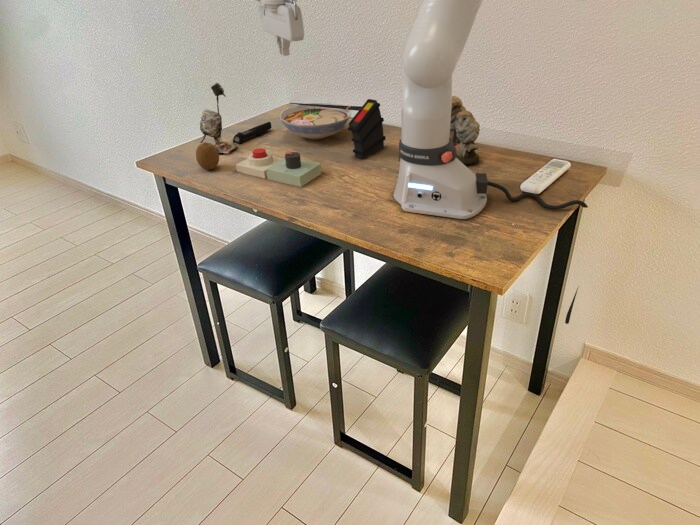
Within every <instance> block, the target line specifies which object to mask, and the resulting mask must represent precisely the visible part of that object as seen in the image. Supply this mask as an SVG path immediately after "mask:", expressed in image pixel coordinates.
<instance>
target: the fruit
mask: <svg viewBox="0 0 700 525" xmlns="http://www.w3.org/2000/svg"><path fill="white" fill-rule="evenodd" d="M214 145H215V144H213V143H211V142H207V141H203V142H202V143H199V145H197V147H196V150H195V158H196V161H197V164H198V165H199V166H200V167H201V168H202V169H203V170H207V171H212V170H214V169H215V168H216V167H217V166H218V165H219V162H220V153H218V150H217V148H216V147H215V146H214Z"/></svg>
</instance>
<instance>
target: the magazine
mask: <svg viewBox="0 0 700 525" xmlns="http://www.w3.org/2000/svg"><path fill="white" fill-rule="evenodd" d="M361 106H362V107H361V109H360V110H359V111H357V112H356V113H355V115H354V116H353V117H352V119H351V120H350V121H349V122H348V127H347V130H348V131H350V132H351V135H352V138H351V139H350V140H351V142H353V147H354V149H352V153H353V154H354V157H355V158H358V159H361V160H364V159H367V157H369V156H371V155H373V154H375V153H377V152H378V151H380V150H383V149H384V147H385V143H384V142H385V141H386V135H384V126H383V122H384V121H385V118H384V117H382V114H381V110H380V107H381V103H380V102H378V100H376V99H371V98H368V99H366V101H365V102H364V103H363V105H361Z"/></svg>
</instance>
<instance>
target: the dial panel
mask: <svg viewBox="0 0 700 525" xmlns="http://www.w3.org/2000/svg"><path fill="white" fill-rule="evenodd" d="M321 164H322V163H319V162H315V161H309V160H304V159H301V167H299V168H296V169H289V168H287V167H286V161H285V158H283V160H281V161H280V162H278V163H276V164H274V165H273V166H271V167H269V168H267V177H266V178H267V180H270V181H274V182H278V183H283V184H286V185H287V184H288V185H290V186H291V185H292V186H295V187H299V188H302V187H303V186H305V185H306V184H308V183H310V182H311V181H313V180H314V179H315V178H317V177H318V176H320V175H321V174H322V167H321V166H322V165H321Z"/></svg>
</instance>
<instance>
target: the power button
mask: <svg viewBox="0 0 700 525" xmlns="http://www.w3.org/2000/svg"><path fill="white" fill-rule="evenodd" d="M266 151H267V150H266V148H263V147H260V148H255V149H253V150H252V153H253V157H254V158H264V157H266Z"/></svg>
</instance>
